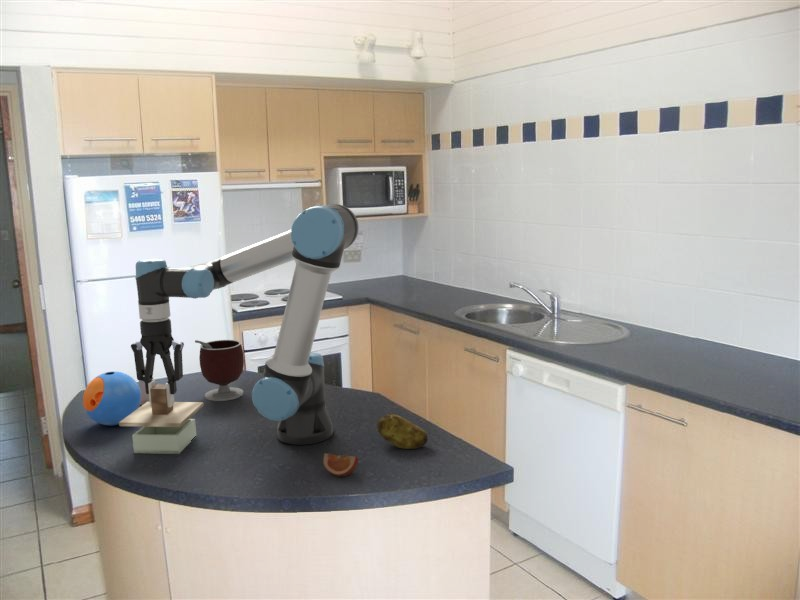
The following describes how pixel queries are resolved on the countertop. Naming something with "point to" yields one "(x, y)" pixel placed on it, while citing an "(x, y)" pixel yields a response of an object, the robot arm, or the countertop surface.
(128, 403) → the treat dispenser ball
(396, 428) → the potato
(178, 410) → the lid
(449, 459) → the countertop surface
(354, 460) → the fruit slice
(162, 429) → the dish
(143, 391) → the salt shaker
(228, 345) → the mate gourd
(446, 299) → the countertop surface
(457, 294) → the countertop surface
